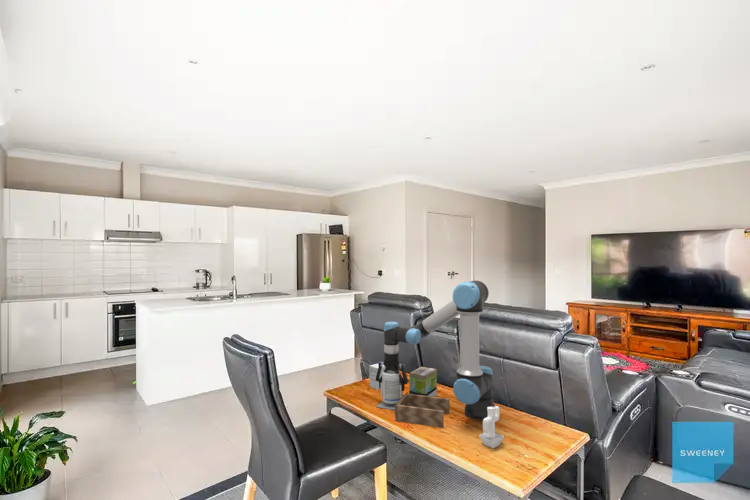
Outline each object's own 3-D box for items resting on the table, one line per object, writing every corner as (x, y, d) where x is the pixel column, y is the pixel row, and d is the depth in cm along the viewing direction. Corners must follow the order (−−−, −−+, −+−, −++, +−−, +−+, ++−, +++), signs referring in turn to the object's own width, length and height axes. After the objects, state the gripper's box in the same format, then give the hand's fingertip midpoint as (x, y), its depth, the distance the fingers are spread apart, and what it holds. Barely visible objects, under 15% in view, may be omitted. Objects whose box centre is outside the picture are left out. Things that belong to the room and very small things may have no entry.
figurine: (477, 445, 154) (476, 407, 155) (490, 437, 160) (490, 401, 161) (492, 452, 149) (492, 413, 149) (506, 444, 155) (505, 407, 155)
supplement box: (378, 384, 229) (378, 362, 229) (386, 387, 223) (386, 365, 224) (369, 386, 224) (369, 365, 225) (377, 390, 219) (377, 367, 219)
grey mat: (406, 402, 200) (406, 401, 200) (399, 410, 189) (399, 410, 189) (384, 399, 205) (384, 398, 205) (376, 407, 193) (376, 406, 193)
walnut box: (449, 413, 186) (449, 398, 186) (443, 427, 170) (442, 412, 170) (405, 407, 194) (405, 393, 194) (395, 420, 178) (395, 405, 178)
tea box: (426, 404, 197) (425, 375, 198) (408, 400, 203) (408, 372, 203) (437, 395, 210) (437, 368, 210) (420, 392, 215) (420, 365, 216)
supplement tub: (404, 402, 195) (404, 373, 196) (389, 406, 190) (389, 376, 190) (393, 396, 203) (393, 368, 204) (378, 400, 198) (378, 371, 199)
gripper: (414, 352, 197) (414, 396, 196) (373, 348, 205) (374, 391, 204) (410, 355, 190) (410, 401, 189) (368, 352, 198) (369, 395, 197)
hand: (391, 395), depth 197 cm, fingers closed on supplement tub, 10 cm apart
